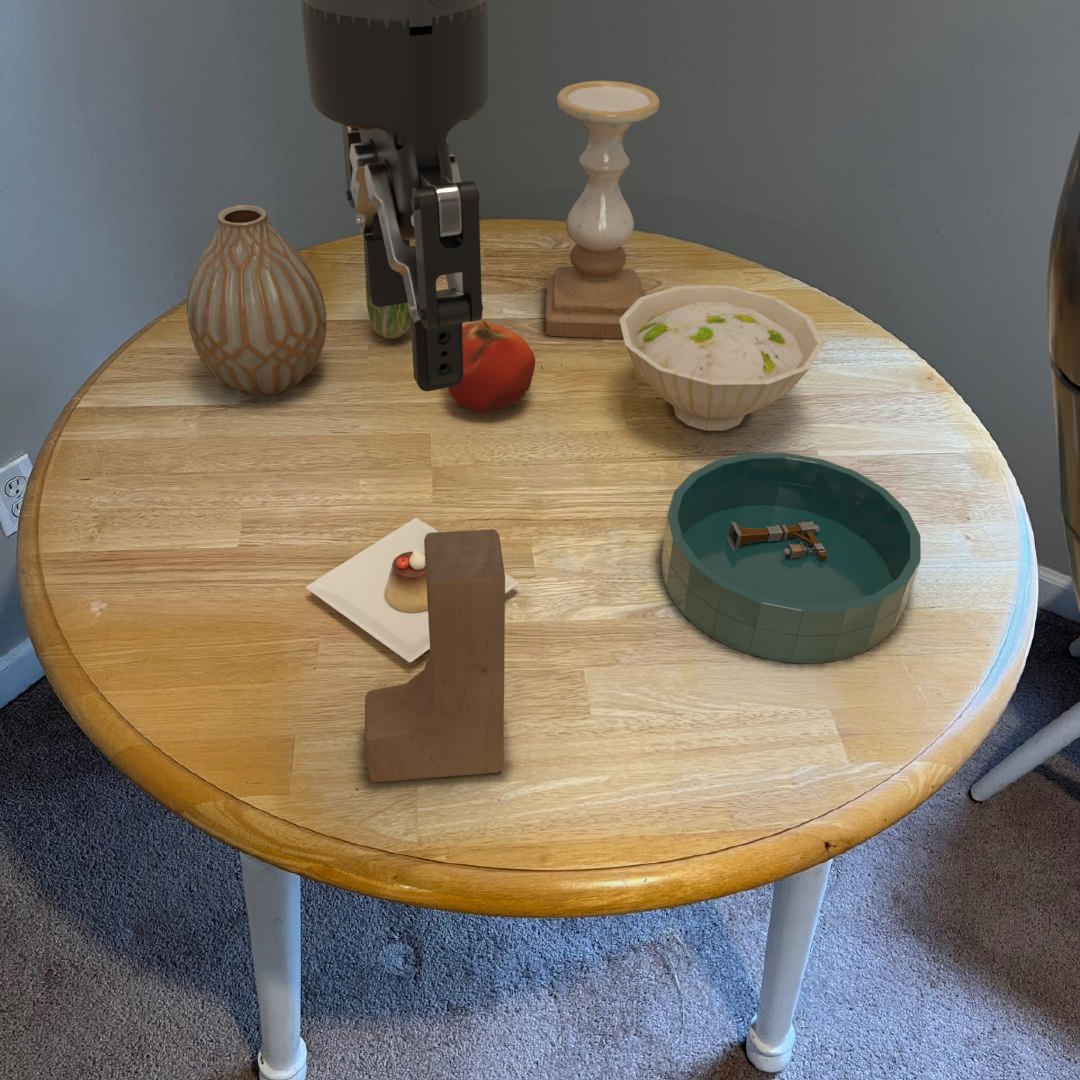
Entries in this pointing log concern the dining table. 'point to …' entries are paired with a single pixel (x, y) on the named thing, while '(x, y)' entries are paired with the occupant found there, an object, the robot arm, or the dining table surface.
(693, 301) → the bowl
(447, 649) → the wooden block
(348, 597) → the dessert
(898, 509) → the teal bowl
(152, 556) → the dining table surface
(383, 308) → the vegetable
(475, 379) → the tomato
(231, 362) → the vase
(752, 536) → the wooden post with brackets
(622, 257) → the candle holder
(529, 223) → the dining table surface
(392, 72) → the robot arm
